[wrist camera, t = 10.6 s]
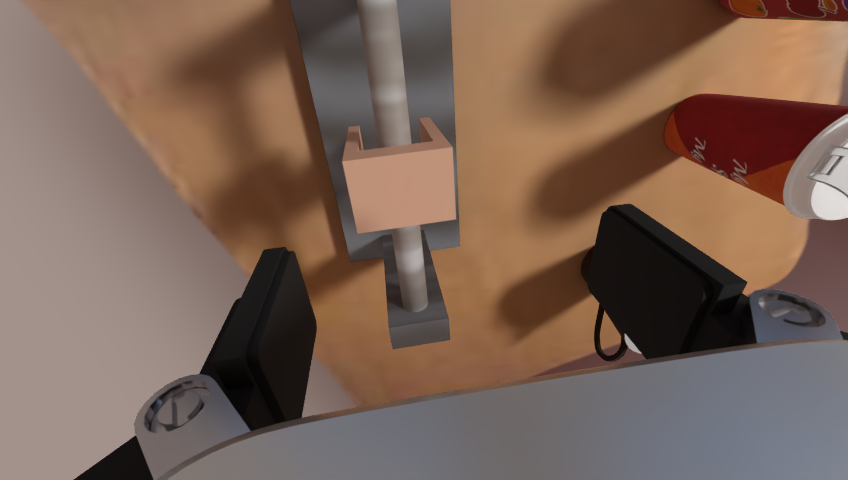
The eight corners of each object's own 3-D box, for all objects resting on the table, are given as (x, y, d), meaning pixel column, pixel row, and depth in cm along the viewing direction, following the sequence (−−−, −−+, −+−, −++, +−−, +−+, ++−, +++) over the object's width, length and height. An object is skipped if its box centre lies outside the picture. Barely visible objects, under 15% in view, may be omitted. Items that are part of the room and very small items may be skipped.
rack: (284, -42, 24) (199, -118, 12) (443, -55, 25) (513, -139, 13) (351, 254, 36) (342, 362, 24) (456, 238, 37) (499, 336, 25)
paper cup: (638, 156, 35) (779, 219, 23) (680, 72, 32) (871, 96, 20) (702, 168, 37) (863, 233, 25) (748, 90, 33) (963, 121, 21)
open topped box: (348, 126, 23) (342, 161, 17) (429, 116, 24) (452, 147, 17) (359, 183, 25) (357, 233, 19) (433, 173, 26) (456, 219, 19)
